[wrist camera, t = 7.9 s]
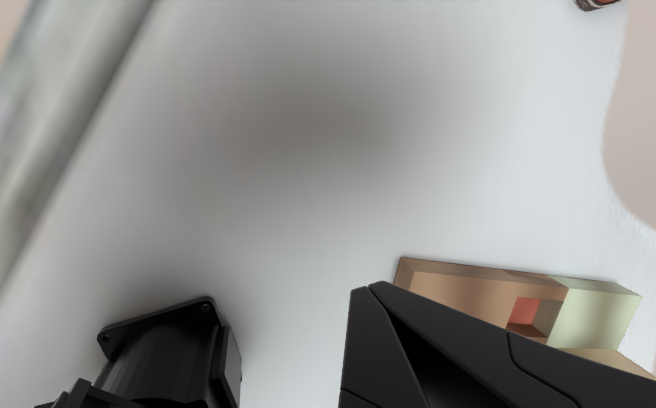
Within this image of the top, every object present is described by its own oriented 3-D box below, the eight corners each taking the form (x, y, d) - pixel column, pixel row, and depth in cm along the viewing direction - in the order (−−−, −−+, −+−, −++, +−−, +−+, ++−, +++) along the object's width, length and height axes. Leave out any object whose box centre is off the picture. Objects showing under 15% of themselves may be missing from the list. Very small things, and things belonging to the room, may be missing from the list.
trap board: (346, 448, 26) (354, 475, 24) (400, 257, 22) (414, 271, 20) (544, 441, 31) (563, 463, 29) (615, 283, 27) (642, 296, 25)
